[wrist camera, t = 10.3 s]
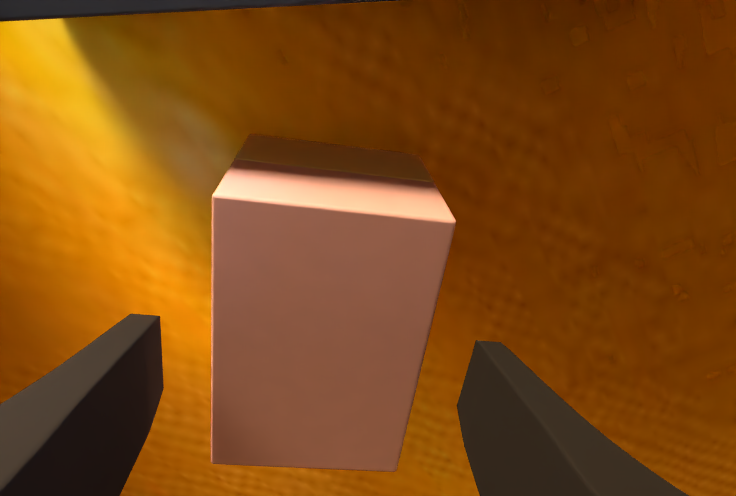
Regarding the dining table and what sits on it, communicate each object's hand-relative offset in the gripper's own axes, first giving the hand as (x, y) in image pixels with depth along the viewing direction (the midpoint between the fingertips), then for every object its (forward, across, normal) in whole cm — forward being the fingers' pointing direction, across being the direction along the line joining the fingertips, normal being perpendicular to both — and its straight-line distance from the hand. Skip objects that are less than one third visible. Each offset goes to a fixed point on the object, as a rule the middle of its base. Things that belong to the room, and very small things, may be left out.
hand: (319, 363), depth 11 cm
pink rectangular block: (+5, 0, 0) cm, 5 cm away
